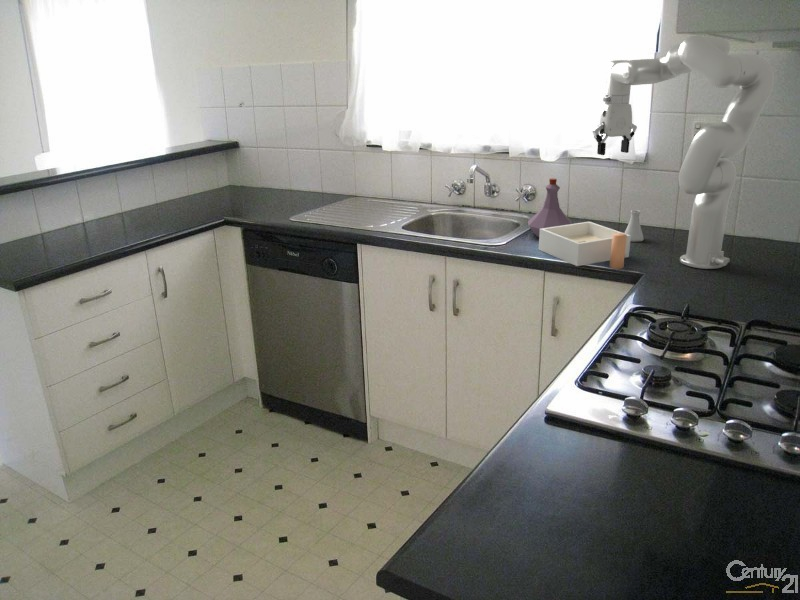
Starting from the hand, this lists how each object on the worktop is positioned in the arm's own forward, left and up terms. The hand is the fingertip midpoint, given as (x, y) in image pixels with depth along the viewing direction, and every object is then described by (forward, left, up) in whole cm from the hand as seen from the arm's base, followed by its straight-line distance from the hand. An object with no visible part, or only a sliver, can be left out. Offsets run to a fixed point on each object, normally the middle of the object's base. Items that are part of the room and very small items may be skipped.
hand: (612, 153), depth 226 cm
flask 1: (+9, +17, -29) cm, 35 cm away
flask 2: (-8, -5, -29) cm, 30 cm away
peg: (-29, +20, -28) cm, 46 cm away
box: (-13, +20, -28) cm, 37 cm away
